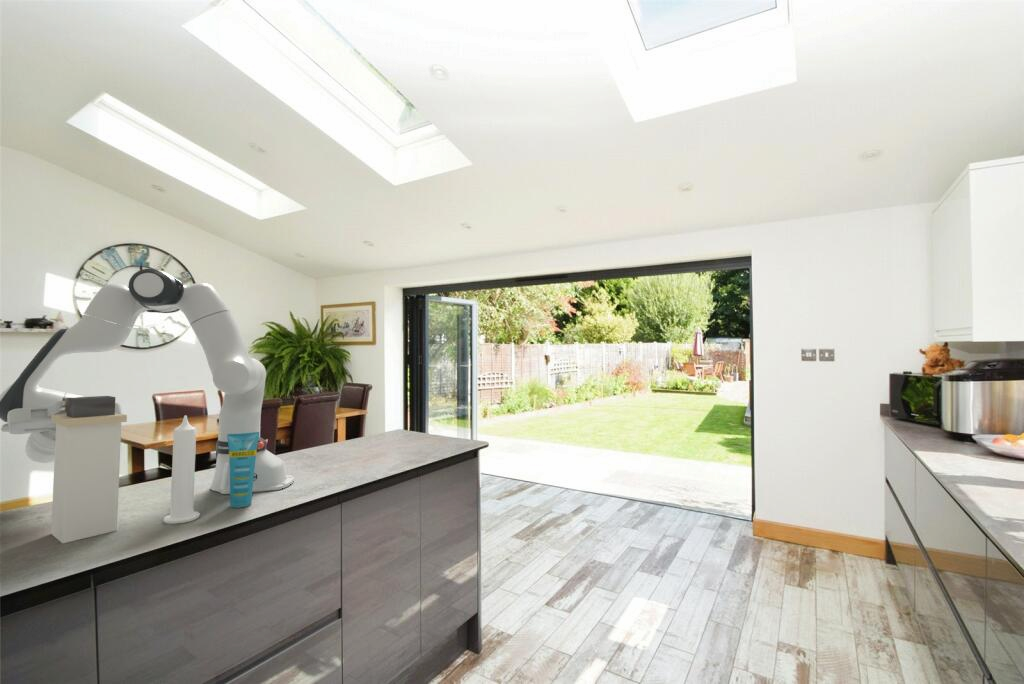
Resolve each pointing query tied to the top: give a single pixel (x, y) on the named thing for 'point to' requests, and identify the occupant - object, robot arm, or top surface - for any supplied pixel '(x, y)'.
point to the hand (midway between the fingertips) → (75, 403)
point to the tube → (242, 467)
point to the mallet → (90, 406)
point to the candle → (183, 475)
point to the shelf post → (86, 476)
